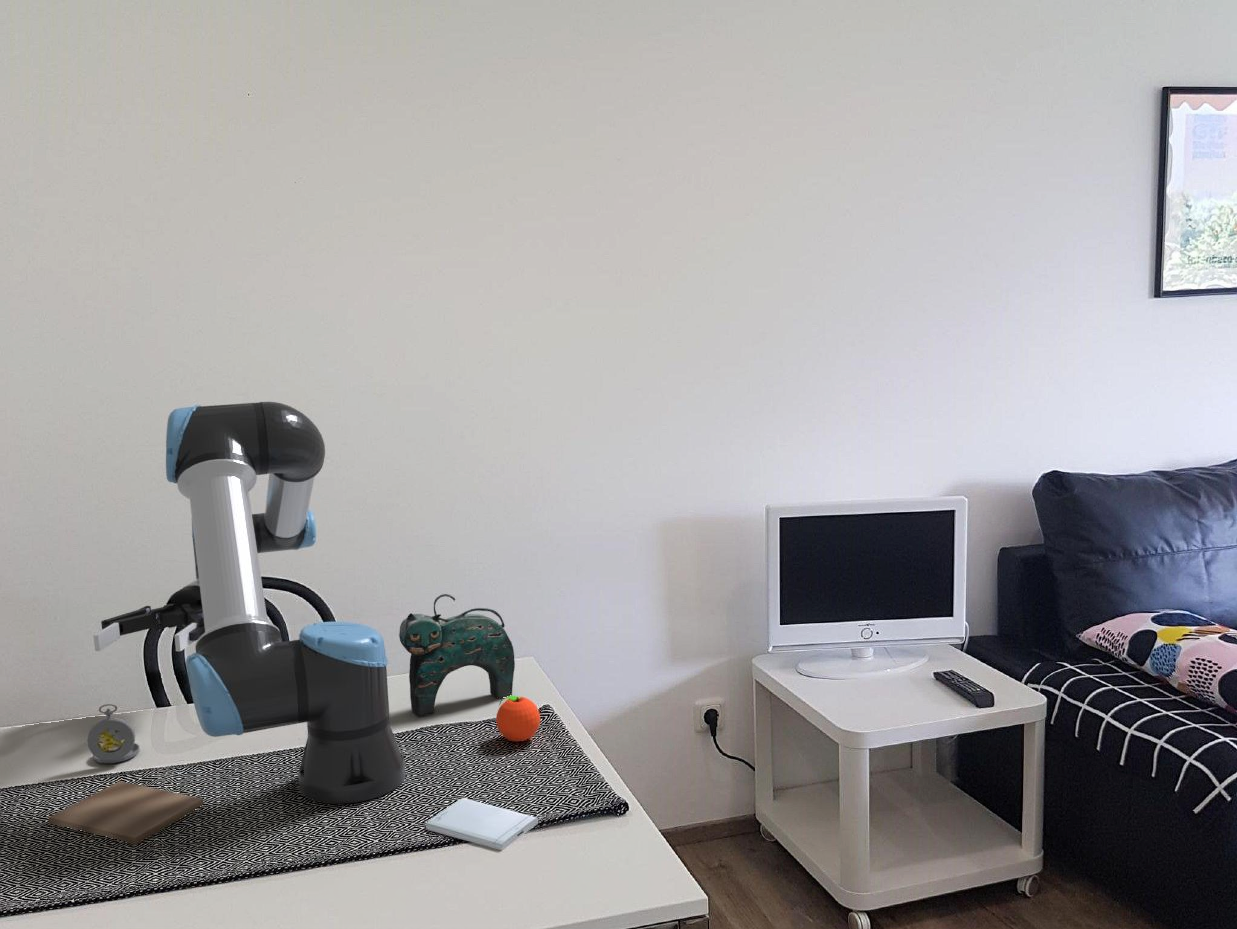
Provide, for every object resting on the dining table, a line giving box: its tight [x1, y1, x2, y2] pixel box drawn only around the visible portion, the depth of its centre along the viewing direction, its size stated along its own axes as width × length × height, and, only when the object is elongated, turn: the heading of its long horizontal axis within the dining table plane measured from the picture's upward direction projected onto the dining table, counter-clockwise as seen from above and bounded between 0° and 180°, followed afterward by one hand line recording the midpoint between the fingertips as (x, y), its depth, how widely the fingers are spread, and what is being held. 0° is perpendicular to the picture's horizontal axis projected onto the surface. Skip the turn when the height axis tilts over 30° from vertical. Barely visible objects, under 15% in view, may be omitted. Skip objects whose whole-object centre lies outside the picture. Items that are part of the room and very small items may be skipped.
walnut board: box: [47, 780, 204, 846], centre depth 154 cm, size 16×12×1 cm
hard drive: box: [425, 797, 539, 851], centre depth 148 cm, size 2×8×12 cm
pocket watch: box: [86, 703, 141, 764], centre depth 172 cm, size 8×8×10 cm
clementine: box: [495, 695, 541, 743], centre depth 176 cm, size 8×7×7 cm
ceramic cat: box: [398, 593, 516, 718], centre depth 191 cm, size 20×6×20 cm, turn 119°
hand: (136, 643), depth 180 cm, fingers open, 13 cm apart
